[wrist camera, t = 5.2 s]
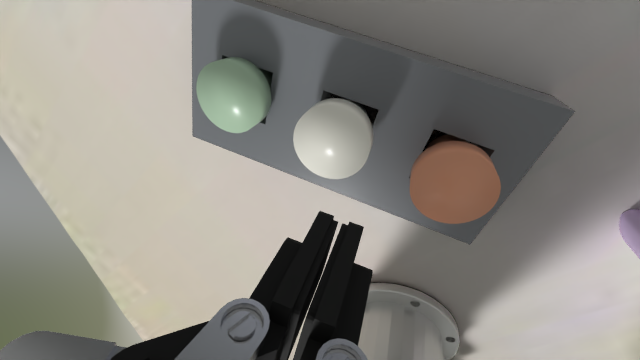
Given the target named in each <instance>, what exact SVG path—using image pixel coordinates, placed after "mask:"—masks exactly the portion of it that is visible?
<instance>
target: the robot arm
mask: <svg viewBox="0 0 640 360" xmlns="http://www.w3.org/2000/svg"><path fill="white" fill-rule="evenodd" d="M333 218H334V216H332V215H330V214H327V213H324V212H321V211H320V212H319V213H318V215H317V217H316V219H315V221H314V222H313V224H312V226H311V228H310V230H309V232H308V234H307V236H306V237H305V239H304V241H303V243H301V242H298V241H296V240H293V239H291V238H287V239H286V240H285V241H284V243H283V245H282V246H281V248H280V250H279V251H278V253H277V254H276V256H275V258H274V259H273V261H272V262H271V264H270V266H269V267H268V269H267V271H266V272H265V274H264V275H263V277H262V279H261V280H260V282H259V284H258V285H257V287H256V288H255V290H254V292H253V293H252V295H251V296H250V298H249V299H248V298H241V299H235V300H233V301H231V302H229V303H227V304H226V305H225V306H223V307H222V308H221V309H220V310H219V311H218V312H217V314H216V315H215V316H214V317H213V318H212V319H211V320H210V321H207V322H204V323H201V324H198V325H195V326H192V327H188V328H185V329H182V330H179V331H176V332H173V333H170V334H166V335H163V336H160V337H157V338H154V339H151V340H148V341H144V342H141V343H138V344H135V345H132V346H130V347H128V348H126V347H120V346H117V344H116V343H115V342H109V341H103V340H97V339H92V338H86V337H79V336H74V335H68V334H62V333H56V332H50V331H35V332H32V333H28V334H25V335H22V336H20V337H19V338H17V339H15V340H13V341H11V342H10V343H9V344H7V345H6V346H5V347H4V348H3V349H1V350H0V360H288V358H289V356H290V353H291V351H292V348H293V346H294V343H295V341H296V338H297V336H298V333H299V331H300V328H301V325H302V323H303V320H304V318H305V315H306V313H307V310H308V308H309V305H310V303H311V300H312V298H313V295H314V293H315V295H314V298H313V300H312V303H311V305H310V308H309V311H308V313H307V316H306V319H305V322H304V326H303V329H302V332H301V335H300V339H299V342H298V345H297V348H296V352H295V355H294V358H293V360H450V359H451V358H452V357H453V356H454V355H455V354H456V352H457V350H458V348H459V342H460V341H459V331H458V327H457V324H456V321H455V320H454V318H453V317H452V315H451V313H450V312H449V311H448V310H447V309H446V308H445V307H444V306H443V305H441V304H440V303H439V302H437V301H436V300H435V299H433V298H431V297H430V296H428V295H426V294H424V293H422V292H420V291H417V290H415V289H412V288H409V287H405V286H401V285H397V284H389V283H371V278H372V270H371V269H368V268H366V267H363V266H360V265H358V264H355V263H354V260H355V256H356V253H357V249H358V246H359V242H360V239H361V235H362V232H363V228H364V227H362V226H360V225H357V224H354V223H352V222H349V224H348V225H345V224H342V226H341V229H340V231H339V234H338V236H337V239H336V241H335V244H334V246H333V249H332V252H331V254H330V257H329V259H328V262H327V264H326V267H325V269H324V265H325V262H326V259H327V256H328V253H329V250H330V246H331V243H332V240H333V237H334V234H335V230H336V227H337V224H338V222H337V221H334V220H333ZM323 269H324V272H323ZM322 272H323V275H322ZM321 275H322V277H321ZM320 277H321V280H320ZM319 280H320V282H319ZM318 282H319V285H318ZM370 283H371V284H370ZM317 285H318V287H317ZM316 287H317V290H316ZM315 290H316V292H315Z"/></svg>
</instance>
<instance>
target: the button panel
mask: <svg viewBox="0 0 640 360" xmlns="http://www.w3.org/2000/svg"><path fill="white" fill-rule="evenodd" d="M229 57H240V58H243V59H246V60H248V61H250V62H252V63H253V64H254V65H256V66H257V67H258V68H261V69H264V70H267V71H269V72H272V73H273V76H272V83H271V90H270V91H271V107H270V110H269V112H268V114H267V116H266V117H265V118H264V119H263V120H262V121H261V122H259V123H258V124H257V125H255V126H254V127H252V128H251V129H249V130H248V131H246V132H242V133H231V132H227V131H225V130H222V129H221V128H219V127H217V126H216V125H215V124H214V123H212V122H211V121H210V120H209V118H208V117H207V116H206V115H205V113H204V112H203V110H202V108H201V106H200V103H199V101H198V97H197V91H196V85H197V79H198V76H199V73H200V72H201V70H202V69H203V68H204V67H205V66H206V65H207V64H209V63H211V62H214V61H218V60H221V59H225V58H229ZM331 94H335V95H338V96H341V97H344V98H347V99H349V100H352V101H355V102H358V103H361V104H364V105H367V106H369V107H372V108H375V109H378V110H379V111H378V113H377V116H376V119H375V121H374V124H373V133H374V139H373V144H372V147H371V150H370V153H369V156H368V158H367V161H366V163H365V164H364V166H363V167H362V168H361V169H360V170H359V171H358V172H357V173H355V174H354V175H352V176H350V177H347V178H343V179H328V178H324V177H321V176H319V175H316V174H315V173H313V172H311V171H310V170H309V169H308V168H306V167H305V166H304V164H303V163H302V162H301V161H300V159H299V158H298V156H297V154H296V151H295V148H294V142H293V135H294V130H295V126H296V124H297V122H298V121H299V119H300V118H301V117H302V116H303V115H304V114H305V113H306V112H307V111H308V110H309V109H310V108H311V107H313V106H314V105H315V104H316V103H318V102H320V101H322V100H325V99H330V98H331ZM574 112H575V111H573V110H572V109H571V108H569V107H568V106H566V105H565V104H564V103H562V102H561V101H559V100H558V99H556V98H555V97H554V96H551V95H548V94H545V93H542V92H538V91H535V90H532V89H529V88H526V87H523V86H520V85H517V84H514V83H510V82H507V81H504V80H501V79H498V78H495V77H492V76H489V75H486V74H482V73H479V72H476V71H473V70H470V69H467V68H464V67H461V66H458V65H454V64H451V63H448V62H445V61H442V60H439V59H436V58H433V57H430V56H426V55H423V54H420V53H417V52H414V51H411V50H408V49H405V48H402V47H398V46H395V45H392V44H389V43H386V42H383V41H380V40H377V39H374V38H370V37H367V36H364V35H361V34H358V33H355V32H352V31H349V30H346V29H342V28H339V27H336V26H333V25H330V24H327V23H324V22H321V21H318V20H314V19H311V18H308V17H305V16H302V15H299V14H296V13H293V12H290V11H286V10H283V9H280V8H277V7H274V6H271V5H268V4H265V3H262V2H258V1H255V0H192V117H193V136H194V137H196V138H199V139H201V140H204V141H206V142H209V143H211V144H214V145H217V146H219V147H222V148H224V149H227V150H229V151H232V152H234V153H237V154H240V155H242V156H245V157H247V158H250V159H252V160H255V161H258V162H260V163H263V164H265V165H268V166H270V167H273V168H275V169H278V170H281V171H283V172H286V173H288V174H291V175H293V176H296V177H298V178H301V179H304V180H306V181H309V182H311V183H314V184H316V185H319V186H321V187H324V188H327V189H329V190H332V191H334V192H337V193H339V194H342V195H345V196H347V197H350V198H352V199H355V200H357V201H360V202H362V203H365V204H368V205H370V206H373V207H375V208H378V209H380V210H383V211H385V212H388V213H391V214H393V215H396V216H398V217H401V218H403V219H406V220H408V221H411V222H414V223H416V224H419V225H421V226H424V227H426V228H429V229H432V230H434V231H437V232H439V233H442V234H444V235H447V236H449V237H452V238H455V239H457V240H460V241H462V242H465V243H467V244H471V243H472V241H473V240H474V239H475V238H476V236H477V235H478V234H479V233H480V231H481V230H482V229H483V228H484V226H485V225H486V224H487V222H488V221H489V220H490V219H491V217H492V216H493V215H494V214H495V212H496V211H497V210H498V209H499V207H500V206H501V205H502V203H503V202H504V201H505V200H506V198H507V197H508V196H509V195H510V193H511V192H512V191H513V189H514V188H515V187H516V186H517V184H518V183H519V182H520V181H521V179H522V178H523V177H524V176H525V174H526V173H527V172H528V170H529V169H530V168H531V167H532V165H533V164H534V163H535V162H536V160H537V159H538V158H539V156H540V155H541V154H542V153H543V151H544V150H545V149H546V148H547V146H548V145H549V144H550V143H551V141H552V140H553V139H554V137H555V136H556V135H557V134H558V132H559V131H560V130H561V129H562V127H563V126H564V125H565V124H566V122H567V121H568V120H569V118H570V117H571V116H572V115H573V113H574ZM434 129H435V130H438V131H441V132H444V133H447V134H449V135H452V136H455V137H458V138H461V139H464V140H467V141H469V142H472V143H475V144H478V145H477V147H479V148H481V149H482V150H483V151H485V152H486V153H487V155H488V156H489V157H490V159H491V160H492V162H493V165H494V167H495V169H496V171H497V174H498V176H499V179H500V183H501V191H500V195H499V198H498V200H497V202H496V204H495V205H494V207H493V208H492V209H491V210H490V211H489V212H487V213H486V214H485V215H483V216H482V217H480V218H478V219H476V220H473V221H470V222H466V223H459V224H448V223H442V222H438V221H435V220H432V219H430V218H428V217H426V216H425V215H423V214H422V213H421V212H420V211H419V210H418V209H417V208H416V207H415V205H414V204H413V202H412V199H411V196H410V176H411V169H412V166H413V164H414V162H415V160H416V159H417V158H418V156H419V155H420V154H421V153H422V151H423V149H424V147H425V145H426V143H427V141H428V140H429V138H430V136H431V134H432V132H433V130H434Z"/></svg>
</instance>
